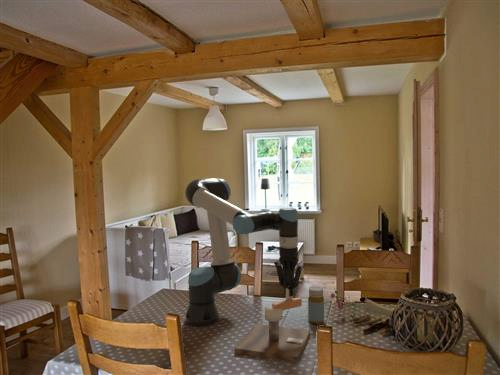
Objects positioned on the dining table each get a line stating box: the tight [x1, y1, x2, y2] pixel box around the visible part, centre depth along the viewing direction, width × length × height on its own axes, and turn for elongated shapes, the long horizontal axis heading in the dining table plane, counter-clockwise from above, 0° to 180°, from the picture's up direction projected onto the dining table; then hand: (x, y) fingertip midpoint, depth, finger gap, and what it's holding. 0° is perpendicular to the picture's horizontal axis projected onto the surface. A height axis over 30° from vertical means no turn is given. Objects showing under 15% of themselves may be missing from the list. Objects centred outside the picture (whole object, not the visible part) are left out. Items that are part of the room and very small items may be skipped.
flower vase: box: [330, 287, 394, 318], centre depth 182 cm, size 12×12×35 cm
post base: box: [234, 321, 311, 363], centre depth 159 cm, size 24×24×10 cm
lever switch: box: [264, 297, 303, 322], centre depth 161 cm, size 16×7×6 cm, turn 120°
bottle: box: [307, 286, 325, 325], centre depth 180 cm, size 7×7×15 cm
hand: (289, 303), depth 165 cm, fingers closed
